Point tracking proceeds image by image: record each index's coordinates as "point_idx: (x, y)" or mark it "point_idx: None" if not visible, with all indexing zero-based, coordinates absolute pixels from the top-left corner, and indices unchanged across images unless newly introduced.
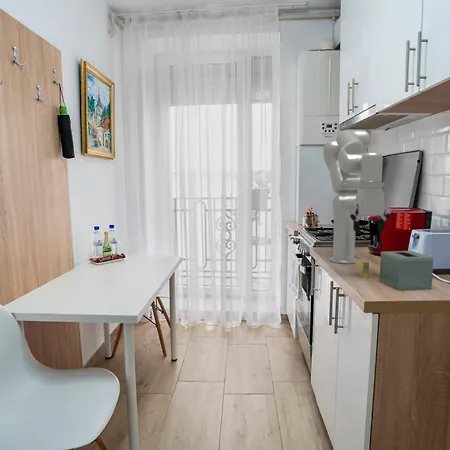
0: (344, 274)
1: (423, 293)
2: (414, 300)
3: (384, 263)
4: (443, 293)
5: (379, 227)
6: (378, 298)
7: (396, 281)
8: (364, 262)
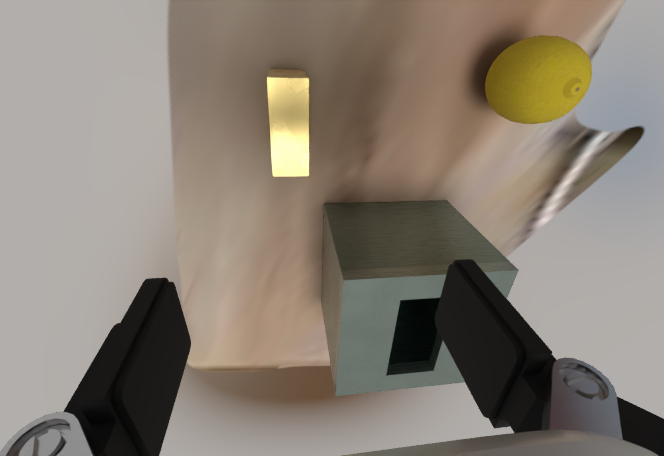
0: (202, 75)
1: None
2: (310, 364)
3: (333, 276)
4: None
5: (458, 310)
6: (225, 354)
7: (324, 309)
8: (281, 175)
